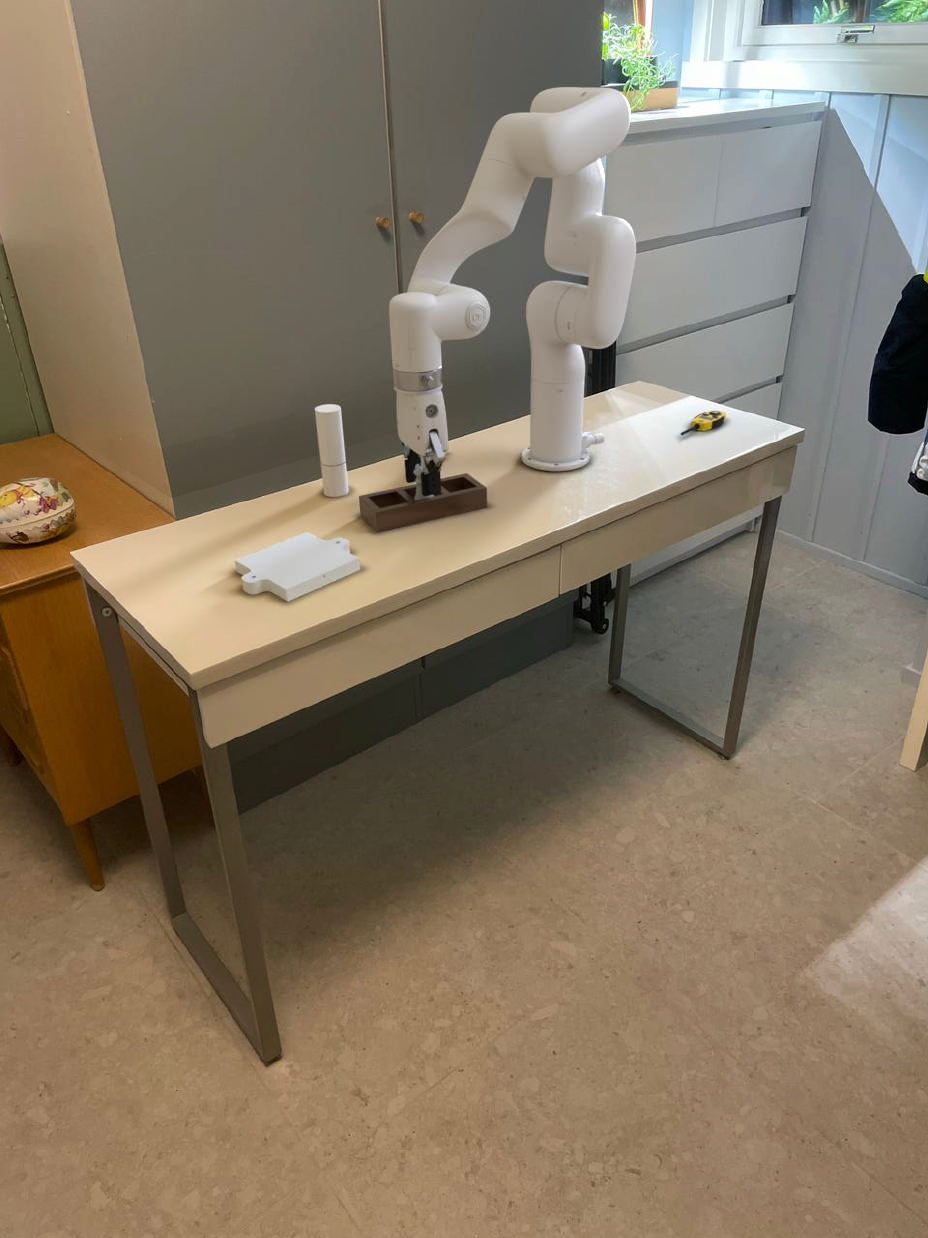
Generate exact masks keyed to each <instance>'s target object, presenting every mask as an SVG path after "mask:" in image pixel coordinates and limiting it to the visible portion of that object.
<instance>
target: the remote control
mask: <svg viewBox="0 0 928 1238" xmlns="http://www.w3.org/2000/svg"><path fill="white" fill-rule="evenodd" d="M726 416H727V413H726V412H725V411H720V410H716V409H715V410H709V411H703V412H701V413H699V414H697V415H695V416H694V418H693V419H692V421H691V427H690V428H688V429H686V430H683V431H681V432H680V436H684V435H686V434H689V433H690V432H692V431H694V430H696V431H701V432H705V431H709V430H714V429H717V428H719V427H721V426H722V425H723V424H724V422H725V421H726V418H727V417H726Z"/></svg>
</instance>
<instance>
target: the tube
mask: <svg viewBox="0 0 928 1238" xmlns="http://www.w3.org/2000/svg"><path fill="white" fill-rule="evenodd" d="M341 407H342V406H340V405H338V404H333V403H328V404H327V403H326V404H320V405H318V406H315V407H314V414H315V415H314V416H315V424H316V431H317V432H316V433H317V434H316V435H317V444H318V450H319V451H318V452H319V460H320V471H321V479H322V489H323V495H324V496H326V497H330V498H338V497H339V498H341V497H344V496H346V495H347V494H348V493H349V481H348V470H347V462H346V449H345V439H344V438H345V437H344V428H343V418H342V417H343V416H342V408H341Z"/></svg>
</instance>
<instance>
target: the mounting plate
mask: <svg viewBox="0 0 928 1238" xmlns="http://www.w3.org/2000/svg"><path fill="white" fill-rule="evenodd" d="M350 548H351V547H350V541H349V539H346V538H344V537H334V538H332V539H328V540H327V539H326V540H325V539H322V538H320V537H318V536H316V535H314V534H312V533H310V532H308V531H305V532H303V533H300V534H297V535H295V536H293V537H290V538H287V539H285V540H283V541H280V542H277V543H274V544H272V545H269V546H267V547H264V548H262V549H259V550H256V551H255V552H252V553H249V554H247V555H244V556H242V557H239V558H236V559H234V563H235V569H236V572H237V573H238V574H240V575H242V576H241V584H242V590H243V591H244V592H245V593H246V594H248V595H251V596H253V595H258V594H261V593H264V592H270V593H272V594H274V595H275V596H277V597H279V598H281V599H282V600H284V601H286V602H290V601H292V600H295V599H297V598H300V597H301V596H304V595H306V594H308V593H312V592H313V591H316V590H317V589H320V588H322V587H325V586H328V585H329V584H331V583H334V582H336V581H338V580H341V579H342V578H345V577H348V576H350V575H352V574H354V573H356V572H359V571H361V559H360V557H359V556H356V555H355V554H353V553H351V549H350Z"/></svg>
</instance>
